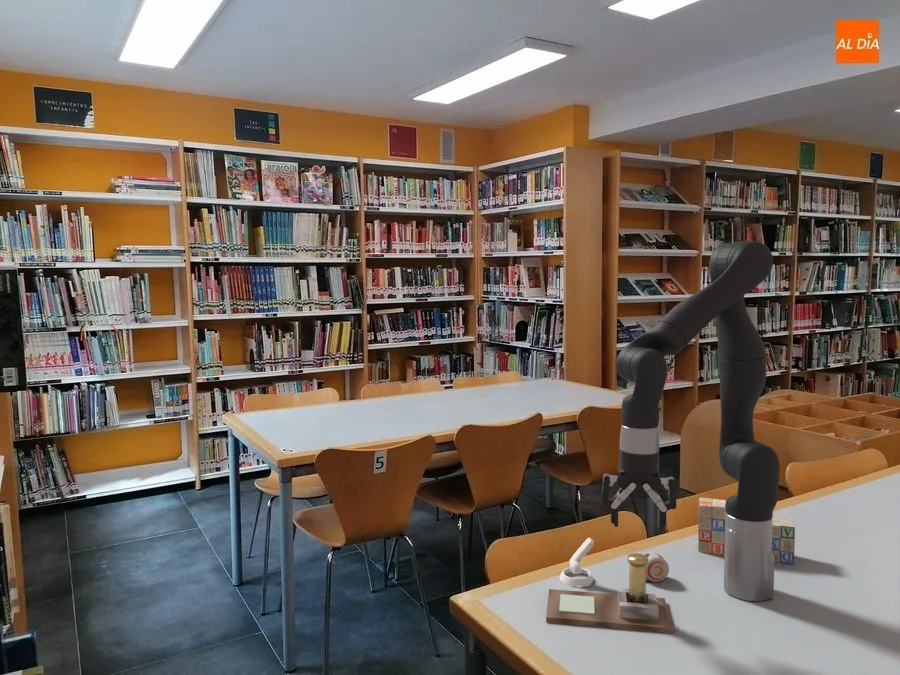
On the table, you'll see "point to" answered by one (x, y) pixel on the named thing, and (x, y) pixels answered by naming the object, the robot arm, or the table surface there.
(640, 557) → the brass peg
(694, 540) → the table surface
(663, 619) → the walnut board
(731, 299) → the robot arm
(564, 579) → the white vr controller
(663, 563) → the roller toy
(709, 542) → the stack of blocks
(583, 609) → the sage pad
